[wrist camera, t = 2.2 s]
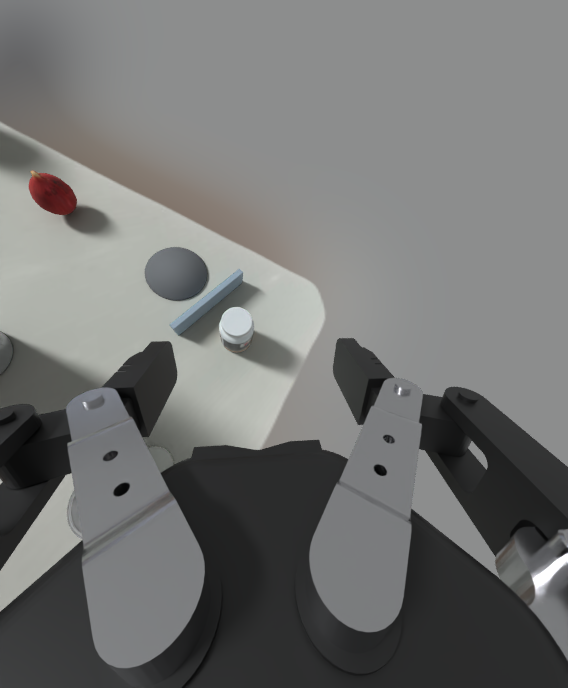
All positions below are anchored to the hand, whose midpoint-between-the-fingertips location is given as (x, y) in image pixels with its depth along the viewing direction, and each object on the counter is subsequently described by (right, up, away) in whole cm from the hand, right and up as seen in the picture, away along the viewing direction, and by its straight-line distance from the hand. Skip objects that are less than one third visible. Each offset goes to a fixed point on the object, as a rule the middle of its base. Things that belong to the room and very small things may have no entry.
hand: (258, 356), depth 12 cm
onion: (-39, +25, +33) cm, 57 cm away
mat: (-19, +14, +35) cm, 42 cm away
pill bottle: (-8, +2, +34) cm, 35 cm away
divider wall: (-13, +8, +34) cm, 37 cm away
